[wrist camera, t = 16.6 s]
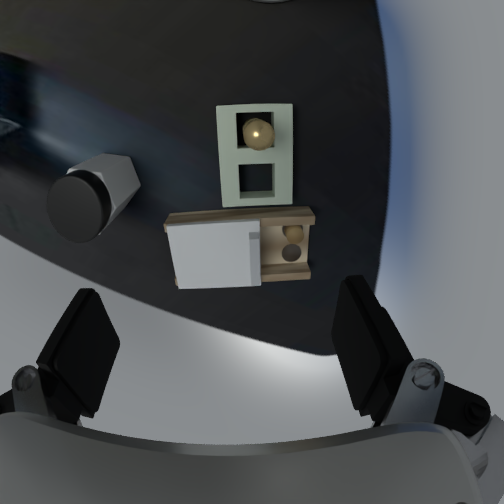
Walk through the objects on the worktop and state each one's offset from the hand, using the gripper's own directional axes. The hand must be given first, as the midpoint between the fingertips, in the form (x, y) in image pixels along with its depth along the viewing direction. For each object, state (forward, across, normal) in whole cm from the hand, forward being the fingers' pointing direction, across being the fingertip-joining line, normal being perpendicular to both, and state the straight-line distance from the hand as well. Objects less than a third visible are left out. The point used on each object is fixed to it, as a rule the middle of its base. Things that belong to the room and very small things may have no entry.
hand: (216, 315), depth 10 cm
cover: (+25, +3, +12) cm, 28 cm away
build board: (+29, -3, -1) cm, 29 cm away
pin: (+29, -3, -4) cm, 30 cm away
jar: (+29, +18, +1) cm, 34 cm away
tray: (+29, 0, +12) cm, 31 cm away
